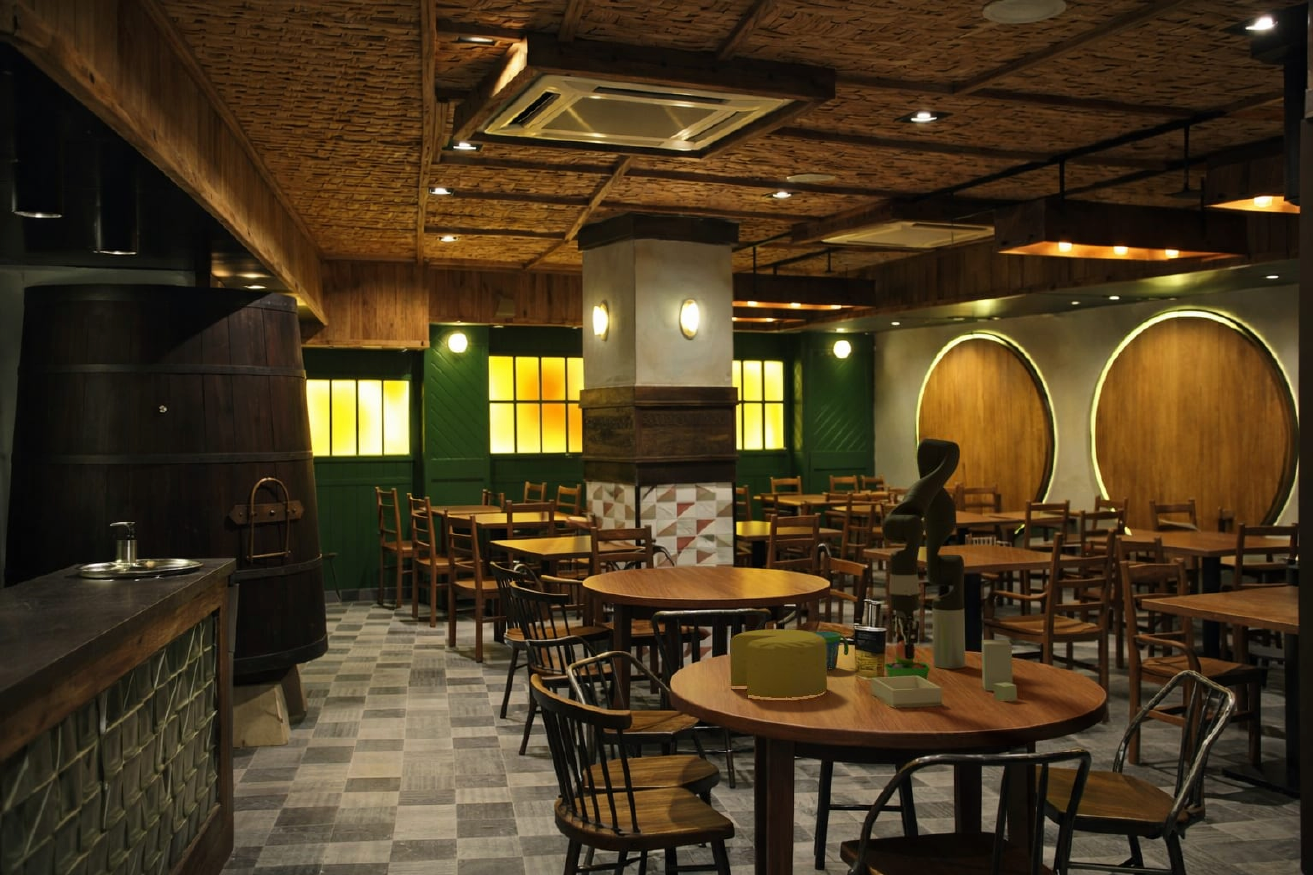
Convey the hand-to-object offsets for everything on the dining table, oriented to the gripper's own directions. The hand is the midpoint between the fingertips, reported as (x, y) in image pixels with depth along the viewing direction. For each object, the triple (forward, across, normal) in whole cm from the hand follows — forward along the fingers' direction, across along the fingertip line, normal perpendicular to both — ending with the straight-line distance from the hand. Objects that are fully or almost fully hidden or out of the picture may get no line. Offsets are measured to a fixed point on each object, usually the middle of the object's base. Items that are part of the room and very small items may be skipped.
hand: (905, 656), depth 294 cm
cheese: (+12, -19, -29) cm, 37 cm away
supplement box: (+11, -8, +29) cm, 32 cm away
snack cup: (+11, -46, -8) cm, 48 cm away
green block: (+11, +5, +25) cm, 28 cm away
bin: (+11, 0, 0) cm, 11 cm away
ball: (+1, 0, 0) cm, 1 cm away
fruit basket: (+11, -20, +8) cm, 24 cm away
